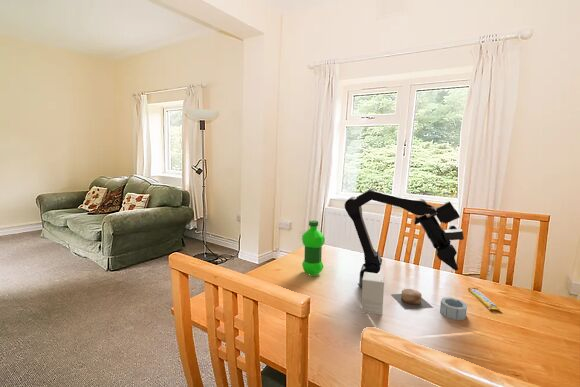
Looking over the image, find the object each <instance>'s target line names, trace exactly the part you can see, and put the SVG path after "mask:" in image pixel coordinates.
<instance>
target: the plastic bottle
mask: <svg viewBox="0 0 580 387" xmlns="http://www.w3.org/2000/svg"><path fill="white" fill-rule="evenodd" d="M308 226H309V229H308V230H306V231H305V232H303V233H302V236H301V241H302V244H303V245H304V257H303V258H304V259H303V261H302V265H301V266H302V269H303V271H304V272H305V273H306V274H307V273H308V274H310V275H309V276H311V275H315V276H317V275H319V274H320V273H321V272H322V271H323V269H324V264H323V262H322V251H323V250H322V246H324V244H325V240H326V239H325V235H324V233H322V232H321V231H320V230H319V229H318V226H319V221H318V220H309V221H308ZM308 274H307V275H308Z"/></svg>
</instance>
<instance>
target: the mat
mask: <svg viewBox="0 0 580 387" xmlns="http://www.w3.org/2000/svg"><path fill="white" fill-rule="evenodd" d="M390 295H391V297H393V299H394V300H395V301H396V302H397V303H398V304H399V305H400V306H401V307H402V308H403V309H404V310H417V309H430V308H434V306H432V305H431V304H430V303H429V302H428V301H427V300H426V299H424V298H423V296H421V304H420V305H409V304H406V303H404V302H403V301H402V300H401V295H402V293H391V294H390Z"/></svg>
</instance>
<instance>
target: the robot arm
mask: <svg viewBox="0 0 580 387" xmlns="http://www.w3.org/2000/svg"><path fill="white" fill-rule="evenodd" d="M371 201H375V202H378V203H381V204H386V205H388V206H389V205H390V206H393V207H398V208H401V209H403V210H405V211H406V212H409V213H410V214H413V215H415V216H414V220H413V224H414V225H418V224H420V225H421V228H422V229H423V230H424V232H425V234H426V236H427V238H428V239H429V241H430V243H431V244H432V247H433V248H434V249H435V254H436V256H437V258H438V260H440V261H442V262H443V263H444V264H446V265H447V266H449V268H451V269H453V271H455V272H457V271H458V270H459V267H458V264H457V260H456V259H455V257H456V255H457V251H456V248H455V247H454V245H453V244H451V242H452V241H457V240H459V241H463V240H464V237H465V236H464V231H463V229H462V228H459V227H456V225H454V224H452V225H449V227H448V228H447V229H444V227H441V225H440V224H441V223H442V224H444V225H446V224H448V223H451V222H452V221H456V220H457V219H460V218H461V216H460V214H459V213H458V210H457V209H456V208H455V207H454V206H453V204H452V203H451V201H446V202H445V203H444V204H441V205H440V206H437V207H435V206H434V205H431V204H429V203H427V201H426V200H425V199H423V198H418V197H403V196H399V195H395V194H391V193H386V192H382V191H379V190H375V189H372V188H369V189H368V190H367V191H365V192H363V193H361V194H359V195H358V196H351V197H349V198H348V199H347V200H346V201H345V202H344V209H345V211H346V213H347V214H348V217H350V219H351V220H352V222H353V225H354V228H355V231H356V233H357V236H358V239H359V242H360V245H361V248H362V251H363V257H364V258H363V259H364V263H363V264H362V266H361V268H360V272H359V280H358V282H359V283H358V282H357V285H358V286H359V288H360V289H361V290H362V279H363V275H364V272H369V273H377V274H379V272H380V271H381V267H382V265H383V264H382V263H383V258H382V257H381V253H380V251H379V250H378V251H376V250H375V249H374V247H373V243H372V241H371V239H370V235H369V232H368V229H367V227H366V223H365V220H364V217H363V207H362V206H364V205H365V204H367V203H369V202H371ZM436 217H437V218H436ZM437 219H438V220H437ZM438 221H439V222H438Z"/></svg>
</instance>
